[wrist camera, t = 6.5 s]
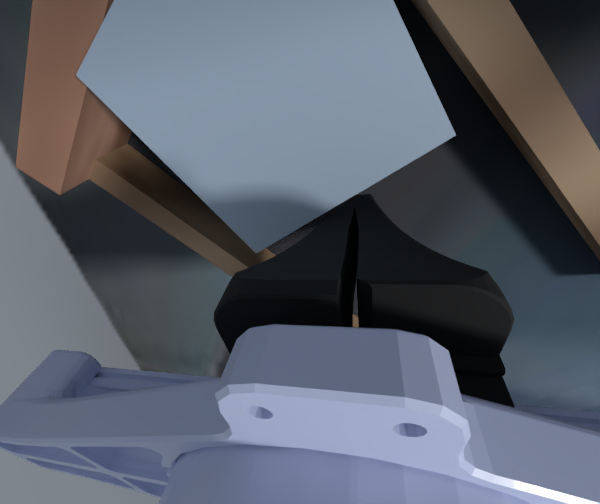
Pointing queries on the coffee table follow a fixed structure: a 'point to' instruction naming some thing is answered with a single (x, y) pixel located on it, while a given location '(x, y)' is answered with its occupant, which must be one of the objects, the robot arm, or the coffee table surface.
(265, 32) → the keeper
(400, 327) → the robot arm
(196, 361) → the coffee table surface
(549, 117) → the track
